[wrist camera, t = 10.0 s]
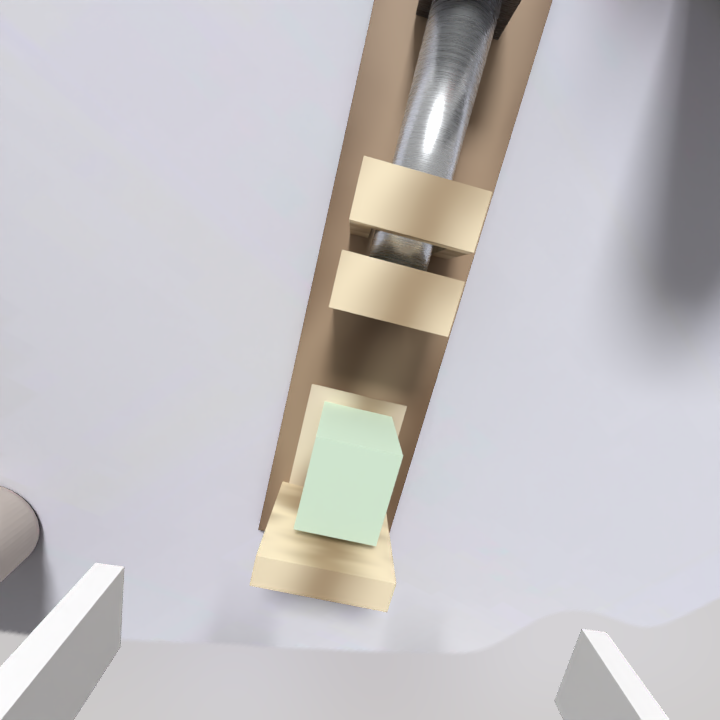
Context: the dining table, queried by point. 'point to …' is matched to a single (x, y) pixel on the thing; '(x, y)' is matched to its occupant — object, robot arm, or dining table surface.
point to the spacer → (350, 475)
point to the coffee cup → (15, 531)
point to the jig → (385, 291)
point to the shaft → (442, 100)
